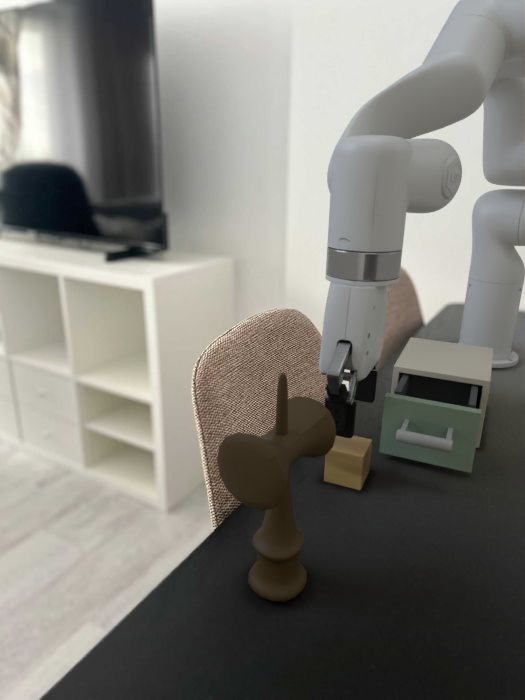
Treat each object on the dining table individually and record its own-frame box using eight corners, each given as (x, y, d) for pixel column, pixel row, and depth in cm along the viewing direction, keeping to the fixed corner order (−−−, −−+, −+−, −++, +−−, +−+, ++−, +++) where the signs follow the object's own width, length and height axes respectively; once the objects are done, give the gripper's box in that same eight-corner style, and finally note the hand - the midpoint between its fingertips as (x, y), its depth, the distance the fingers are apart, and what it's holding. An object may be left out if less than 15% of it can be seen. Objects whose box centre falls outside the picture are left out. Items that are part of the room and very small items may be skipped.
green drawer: (468, 494, 56) (479, 431, 54) (370, 471, 61) (376, 411, 58) (477, 426, 72) (485, 374, 69) (398, 411, 76) (403, 361, 73)
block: (334, 463, 64) (336, 431, 62) (369, 471, 62) (372, 439, 61) (323, 481, 60) (325, 448, 59) (360, 490, 58) (363, 457, 57)
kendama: (216, 604, 43) (211, 384, 36) (277, 539, 50) (282, 348, 44) (277, 639, 40) (283, 405, 33) (332, 564, 47) (346, 362, 41)
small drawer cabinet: (479, 448, 68) (490, 381, 64) (387, 429, 72) (393, 365, 69) (483, 406, 80) (493, 348, 77) (404, 392, 84) (410, 337, 81)
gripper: (349, 252, 62) (339, 384, 67) (299, 276, 47) (292, 442, 52) (413, 257, 59) (397, 394, 64) (381, 284, 44) (364, 460, 49)
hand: (350, 416), depth 58 cm, fingers open, 9 cm apart
